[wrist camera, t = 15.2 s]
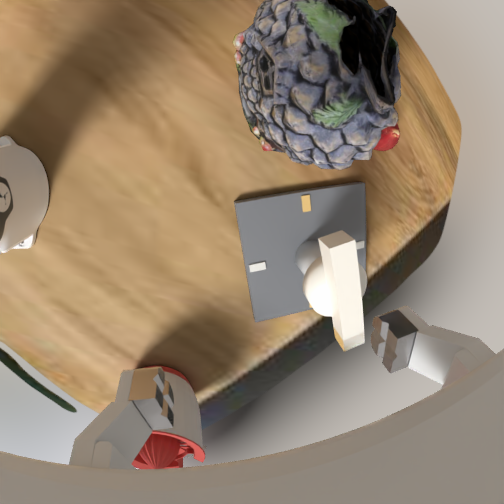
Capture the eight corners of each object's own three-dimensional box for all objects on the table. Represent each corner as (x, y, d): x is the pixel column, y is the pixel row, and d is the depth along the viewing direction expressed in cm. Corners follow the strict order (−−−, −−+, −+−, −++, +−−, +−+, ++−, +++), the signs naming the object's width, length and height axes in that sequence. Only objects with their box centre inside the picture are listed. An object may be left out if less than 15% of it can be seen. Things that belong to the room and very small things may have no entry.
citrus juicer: (176, 418, 57) (178, 495, 39) (109, 383, 50) (93, 464, 32) (222, 385, 55) (235, 471, 36) (151, 342, 48) (138, 436, 30)
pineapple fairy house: (210, 35, 32) (228, -73, 9) (311, 21, 33) (412, -53, 10) (247, 171, 40) (312, 220, 17) (344, 148, 41) (472, 175, 18)
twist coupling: (290, 237, 34) (306, 256, 29) (350, 217, 35) (374, 232, 29) (312, 332, 40) (326, 358, 35) (362, 312, 41) (380, 335, 35)
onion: (350, 146, 41) (378, 150, 34) (351, 110, 39) (380, 108, 32) (381, 150, 42) (411, 156, 35) (382, 116, 40) (413, 116, 33)
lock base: (253, 317, 49) (265, 353, 41) (233, 201, 41) (243, 219, 33) (360, 290, 51) (386, 318, 43) (360, 181, 43) (394, 194, 35)
